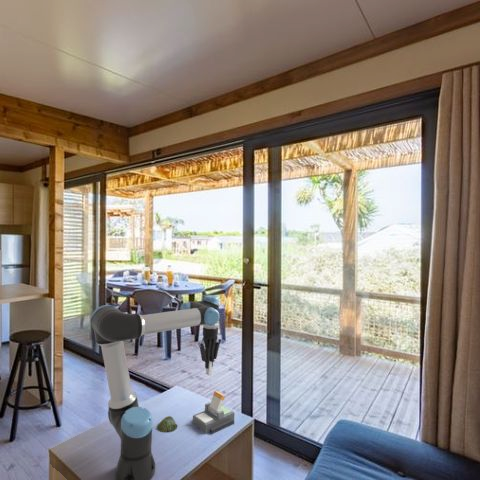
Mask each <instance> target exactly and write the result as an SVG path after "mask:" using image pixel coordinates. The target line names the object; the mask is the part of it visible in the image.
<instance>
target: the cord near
mask: <svg viewBox="0 0 480 480" xmlns="http://www.w3.org/2000/svg"><path fill="white" fill-rule="evenodd" d="M234 424H235V419H234V420H233V419H230V420H228V421H225V422H223V423H221V424H219V425H217V426H215V427H212V428H210V432H209V433H210V434H211V435H213V434H216V433H218V432H219V431H222V430H224V429H225V428H228V427H230V426H232V425H234Z"/></svg>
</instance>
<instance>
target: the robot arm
mask: <svg viewBox="0 0 480 480" xmlns="http://www.w3.org/2000/svg"><path fill="white" fill-rule="evenodd" d="M219 321H220V298H219V296H218V295H213V294H208V295H205V296H204V298H203V300H197V301H195V300H194V301H186V302H183V303H181V305H180V309H179V310H178V309H177V310H173V311H172V310H171V311H165V312H157V313H156V312H155V313H149V314H140V313H139V312H136V313H127V312H122V311H121V310H119V309H118V308H117V307H116V306H114V305H110V304H105V305H100V306H99V307H97V308H96V309H95V310H94V311H93V312H92V313H91V315H90V318H89V323H90V327H91V328H92V330H93V333H94V338H95V343H96V345H98V346H100V347H101V353H102V359H103V364H104V368H105V375H106V379H107V383H108V390H109V395H110V399H109V401H108V402H107V408H108V409H107V417H108V421H109V423H110V424H111V426H112V427H113V428H114V430H115V432H116V433H117V435H118V437H119V439H120V453H119V454H120V455H119V458H118V462H117V464H116V468H115V471H114V477H115V479H116V480H152V478H153V477H154V476H155V473H156V461H155V458H154V455H153V452H152V444H153V425H154V423H153V415H152V413H151V411H150V410H149V409H147V408H146V407H142V406H139V400H138V395H137V393H136V392H135V391H133V389H132V381H131V377H130V372H129V366H128V361H127V356H126V351H125V345H124V342H125V341H131V340H136V339H140V338H142V336H143V335H150V334H156V333H161V332H167V331H168V332H169V331H174V330H178V329H179V330H180V329H184V328H191V327H196V326H203V327H202V336H203V337H202V340H201V341H200V342H198V343H197V345H198V347H199V351H200V357H201V361H202V362H204V368H205V375H207V376H212V370H213V366H214V362H215V360H217V358H218V352H219V348H220V345H221V342H222V339H220V338H219V337H218V335H219V328H218V327H219Z"/></svg>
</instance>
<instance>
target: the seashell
mask: <svg viewBox="0 0 480 480" xmlns="http://www.w3.org/2000/svg"><path fill="white" fill-rule="evenodd" d="M156 429H157V431H159V432H161V433H173V432H174V431H176V430H177V429H178V424H177V423H176V421H175V419H174V418H173V417H172V416H170V415H169V416H166V417H164V418H163V419H162V420H161V421H160V422H159V423H158V424H157V428H156Z"/></svg>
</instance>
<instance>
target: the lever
mask: <svg viewBox="0 0 480 480" xmlns="http://www.w3.org/2000/svg"><path fill="white" fill-rule="evenodd" d="M225 397H226V396H225V395H224V394H222V393H220V392H219V391H217V390H214V392H213V394H212V399H211V401H210V403H211V404H210V405H209V406H208V409H209V410H210V411H212V412H213V413H214V414H216V415H217V412H219V411H220V409H221V406H222V405H223V403H224V400H225Z"/></svg>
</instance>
